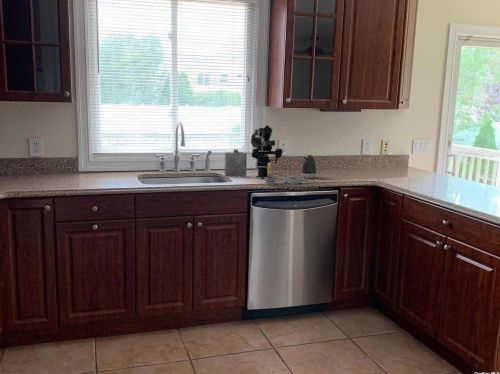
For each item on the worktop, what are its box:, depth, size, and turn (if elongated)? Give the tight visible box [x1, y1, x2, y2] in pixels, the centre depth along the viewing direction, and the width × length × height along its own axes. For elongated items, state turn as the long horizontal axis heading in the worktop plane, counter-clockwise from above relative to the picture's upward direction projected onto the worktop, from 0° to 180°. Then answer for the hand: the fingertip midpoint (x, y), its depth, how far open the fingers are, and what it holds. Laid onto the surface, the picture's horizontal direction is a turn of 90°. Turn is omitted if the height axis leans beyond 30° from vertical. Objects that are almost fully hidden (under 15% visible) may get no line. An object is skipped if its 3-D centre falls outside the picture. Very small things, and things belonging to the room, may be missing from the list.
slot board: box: [273, 173, 294, 181], centre depth 322 cm, size 12×10×3 cm
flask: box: [224, 148, 248, 177], centre depth 331 cm, size 4×14×18 cm, turn 86°
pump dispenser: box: [301, 154, 318, 179], centre depth 330 cm, size 10×10×15 cm
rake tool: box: [264, 162, 276, 186], centre depth 304 cm, size 5×5×13 cm
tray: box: [280, 176, 307, 185], centre depth 312 cm, size 11×11×3 cm
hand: (268, 163), depth 308 cm, fingers open, 9 cm apart
